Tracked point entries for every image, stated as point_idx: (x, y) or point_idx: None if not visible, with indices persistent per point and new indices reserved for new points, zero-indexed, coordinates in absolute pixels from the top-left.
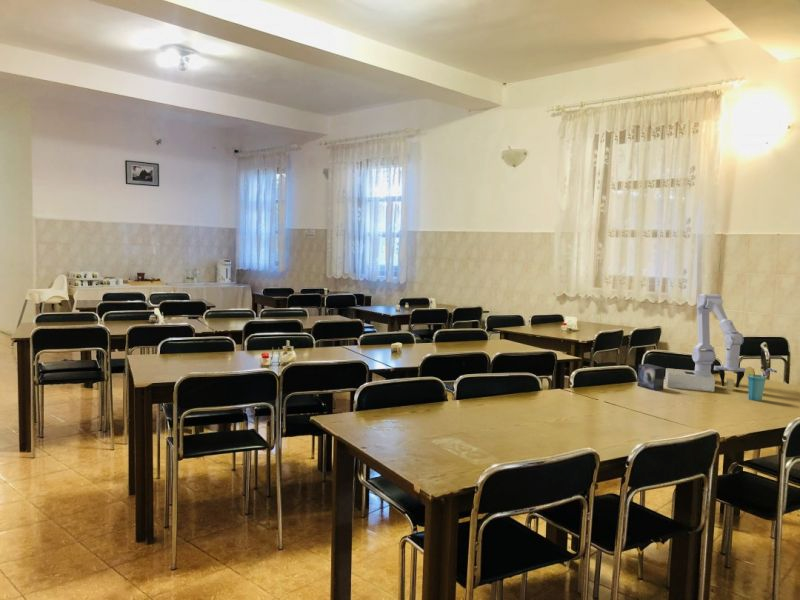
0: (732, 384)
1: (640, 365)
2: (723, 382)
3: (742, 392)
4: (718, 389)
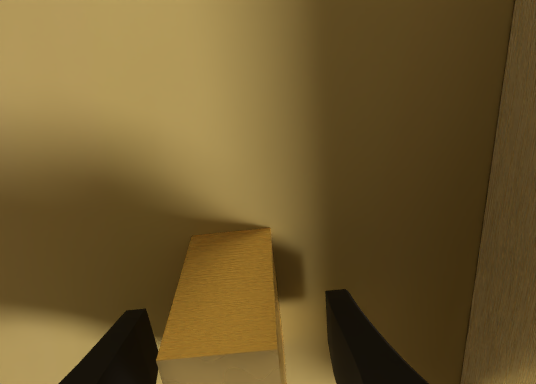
0: (200, 295)
1: None
2: (351, 325)
3: (67, 197)
4: (393, 213)
